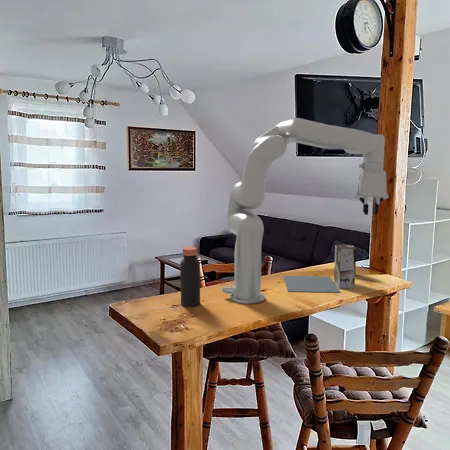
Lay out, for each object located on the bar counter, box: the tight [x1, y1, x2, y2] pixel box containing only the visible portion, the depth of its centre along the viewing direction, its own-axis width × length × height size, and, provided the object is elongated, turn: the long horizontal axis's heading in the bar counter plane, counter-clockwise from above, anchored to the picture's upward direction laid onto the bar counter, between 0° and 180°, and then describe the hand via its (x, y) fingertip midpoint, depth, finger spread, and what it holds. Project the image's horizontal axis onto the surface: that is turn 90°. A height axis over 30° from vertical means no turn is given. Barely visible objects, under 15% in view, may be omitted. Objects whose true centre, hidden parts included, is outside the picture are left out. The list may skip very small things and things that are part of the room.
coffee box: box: [333, 244, 358, 290], centre depth 170 cm, size 9×6×16 cm
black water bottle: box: [179, 246, 201, 308], centre depth 147 cm, size 7×7×20 cm
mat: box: [282, 275, 341, 294], centre depth 173 cm, size 20×22×1 cm
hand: (370, 213), depth 166 cm, fingers open, 2 cm apart
